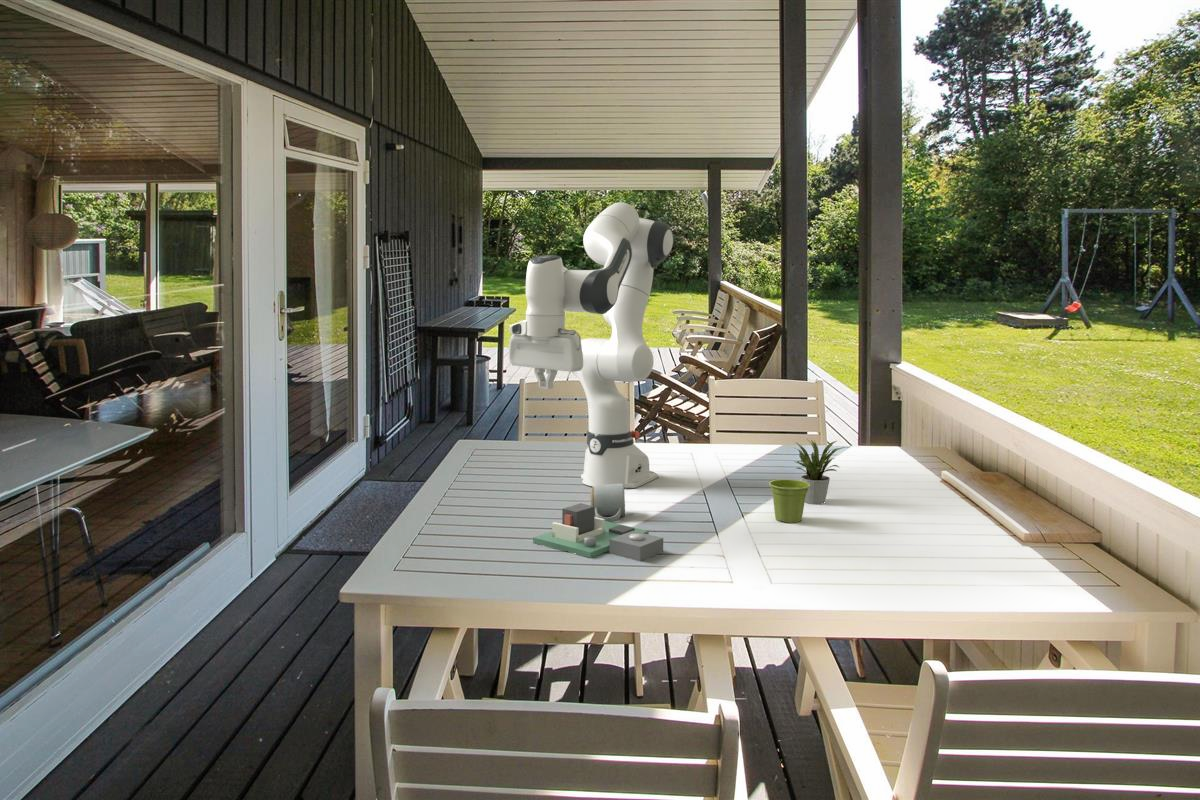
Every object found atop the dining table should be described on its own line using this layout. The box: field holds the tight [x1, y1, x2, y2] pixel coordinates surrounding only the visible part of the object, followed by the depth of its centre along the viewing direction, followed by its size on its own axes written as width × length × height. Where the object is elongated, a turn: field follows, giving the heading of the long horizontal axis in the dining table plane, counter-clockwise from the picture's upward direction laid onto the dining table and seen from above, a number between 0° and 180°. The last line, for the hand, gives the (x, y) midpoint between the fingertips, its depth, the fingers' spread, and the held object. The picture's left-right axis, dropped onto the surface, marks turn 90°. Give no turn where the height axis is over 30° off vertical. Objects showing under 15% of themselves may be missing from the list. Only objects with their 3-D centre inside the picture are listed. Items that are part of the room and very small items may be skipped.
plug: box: [561, 502, 596, 535], centre depth 207 cm, size 7×4×6 cm, turn 140°
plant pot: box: [768, 478, 810, 524], centre depth 224 cm, size 9×9×9 cm
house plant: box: [793, 438, 851, 505], centre depth 240 cm, size 14×14×16 cm
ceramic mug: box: [590, 483, 626, 523], centre depth 226 cm, size 11×8×8 cm
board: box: [532, 516, 650, 559], centre depth 208 cm, size 20×16×4 cm
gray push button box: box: [608, 531, 664, 562], centre depth 199 cm, size 8×8×4 cm
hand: (545, 388), depth 219 cm, fingers closed
